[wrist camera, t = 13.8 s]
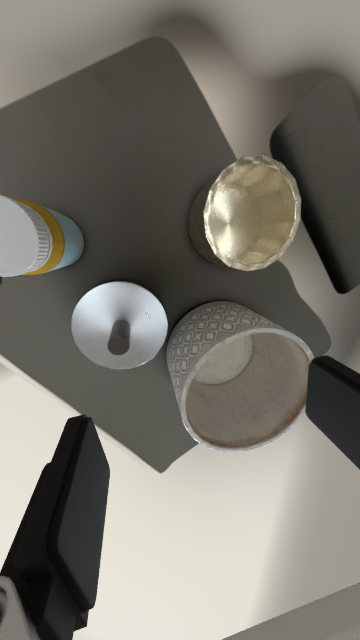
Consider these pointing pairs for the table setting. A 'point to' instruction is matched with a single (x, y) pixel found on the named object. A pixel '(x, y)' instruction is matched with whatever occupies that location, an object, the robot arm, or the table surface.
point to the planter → (236, 376)
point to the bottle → (36, 238)
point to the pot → (246, 214)
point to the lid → (119, 325)
